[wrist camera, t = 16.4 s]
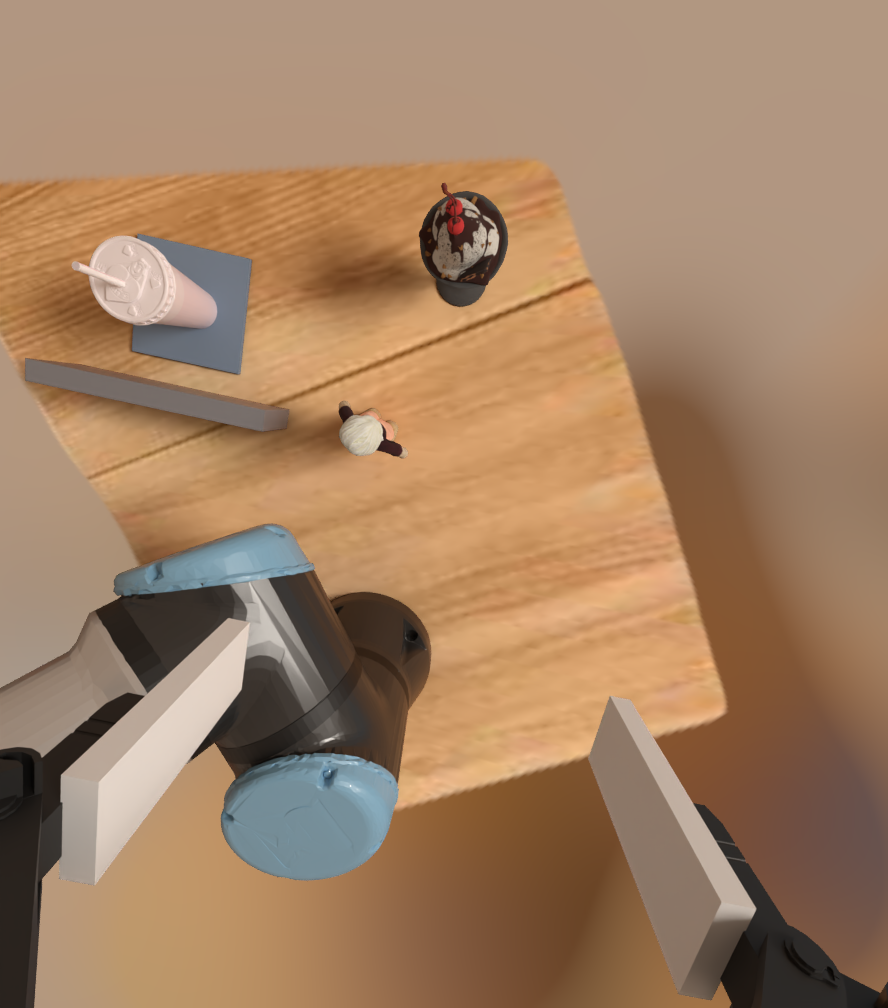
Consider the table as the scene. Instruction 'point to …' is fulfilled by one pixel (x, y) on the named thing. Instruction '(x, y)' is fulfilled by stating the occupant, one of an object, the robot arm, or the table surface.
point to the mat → (230, 293)
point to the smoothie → (145, 286)
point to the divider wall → (156, 394)
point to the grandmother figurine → (368, 433)
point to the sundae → (463, 245)
